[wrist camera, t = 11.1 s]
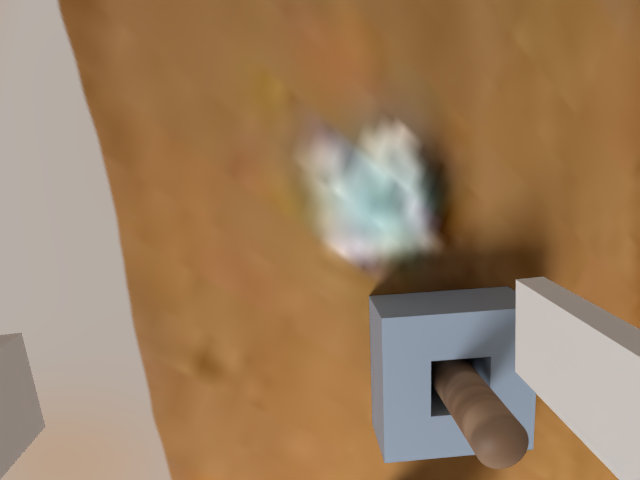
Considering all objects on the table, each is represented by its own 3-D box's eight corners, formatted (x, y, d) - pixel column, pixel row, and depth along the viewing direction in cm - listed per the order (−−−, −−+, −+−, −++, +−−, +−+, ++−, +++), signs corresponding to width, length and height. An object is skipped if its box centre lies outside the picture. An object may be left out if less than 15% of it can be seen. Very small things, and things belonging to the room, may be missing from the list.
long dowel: (419, 340, 46) (475, 421, 32) (458, 337, 46) (530, 417, 33) (419, 376, 47) (474, 471, 33) (457, 373, 47) (527, 466, 33)
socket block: (369, 295, 45) (381, 318, 39) (507, 286, 46) (540, 307, 40) (372, 424, 48) (384, 463, 42) (503, 412, 48) (533, 449, 42)
